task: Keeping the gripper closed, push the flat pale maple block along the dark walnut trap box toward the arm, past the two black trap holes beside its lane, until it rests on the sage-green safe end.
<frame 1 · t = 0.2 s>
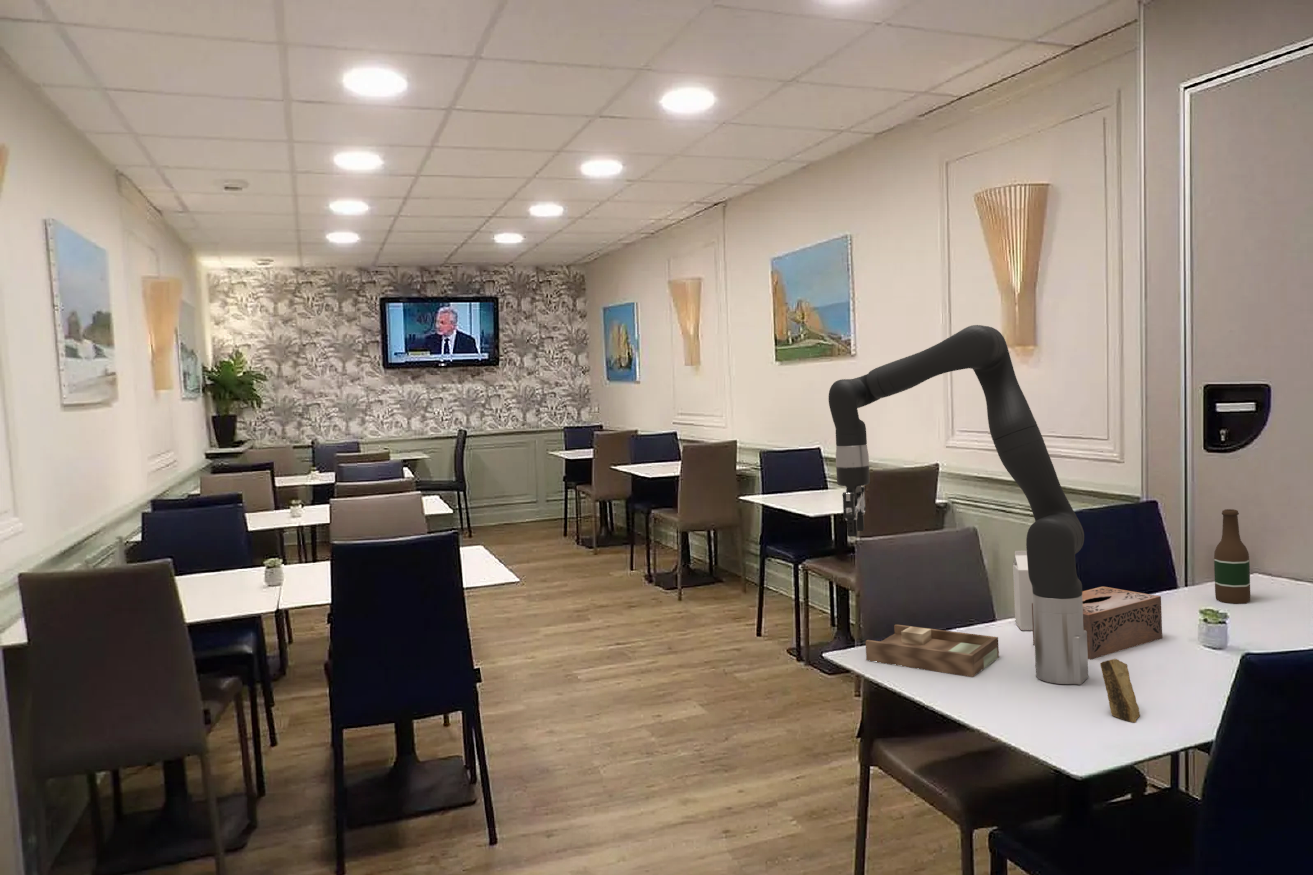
hand: (856, 533, 207), 27 cm above the table, tool pointing down, fingers open, 8 cm apart
rock: (1127, 712, 161), on the table
milk carton: (1033, 628, 218), on the table
tissue box cover: (1097, 643, 203), on the table
beer bottle: (1232, 601, 232), on the table
trap box: (932, 658, 197), on the table
maple block: (916, 641, 203), point 2 cm above the table, touching trap box
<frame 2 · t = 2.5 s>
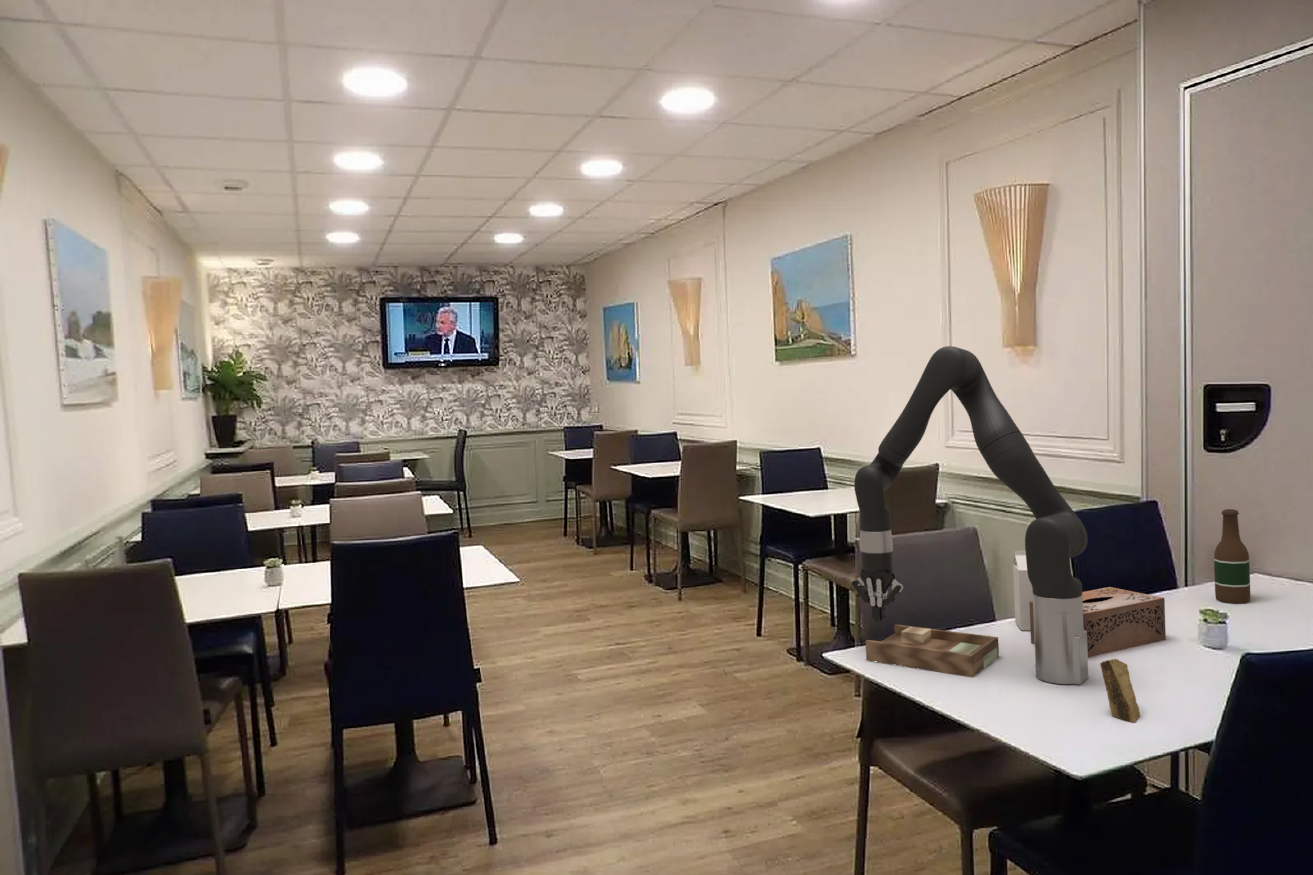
hand: (879, 621, 209), 6 cm above the table, tool pointing down, fingers closed
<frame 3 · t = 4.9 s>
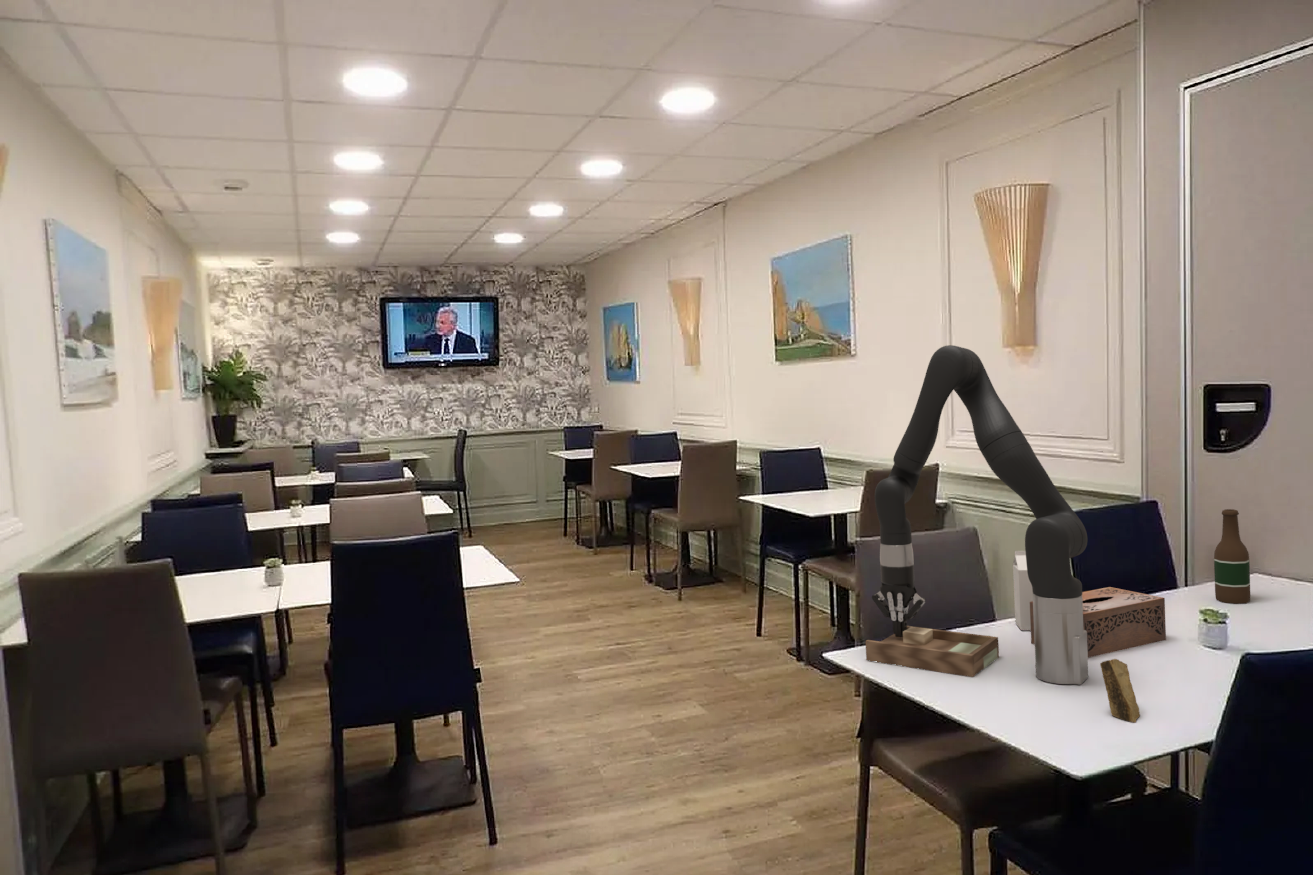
hand: (900, 636, 206), 3 cm above the table, tool pointing down, fingers closed
maple block: (918, 641, 203), point 3 cm above the table, touching gripper
everything else where it was.
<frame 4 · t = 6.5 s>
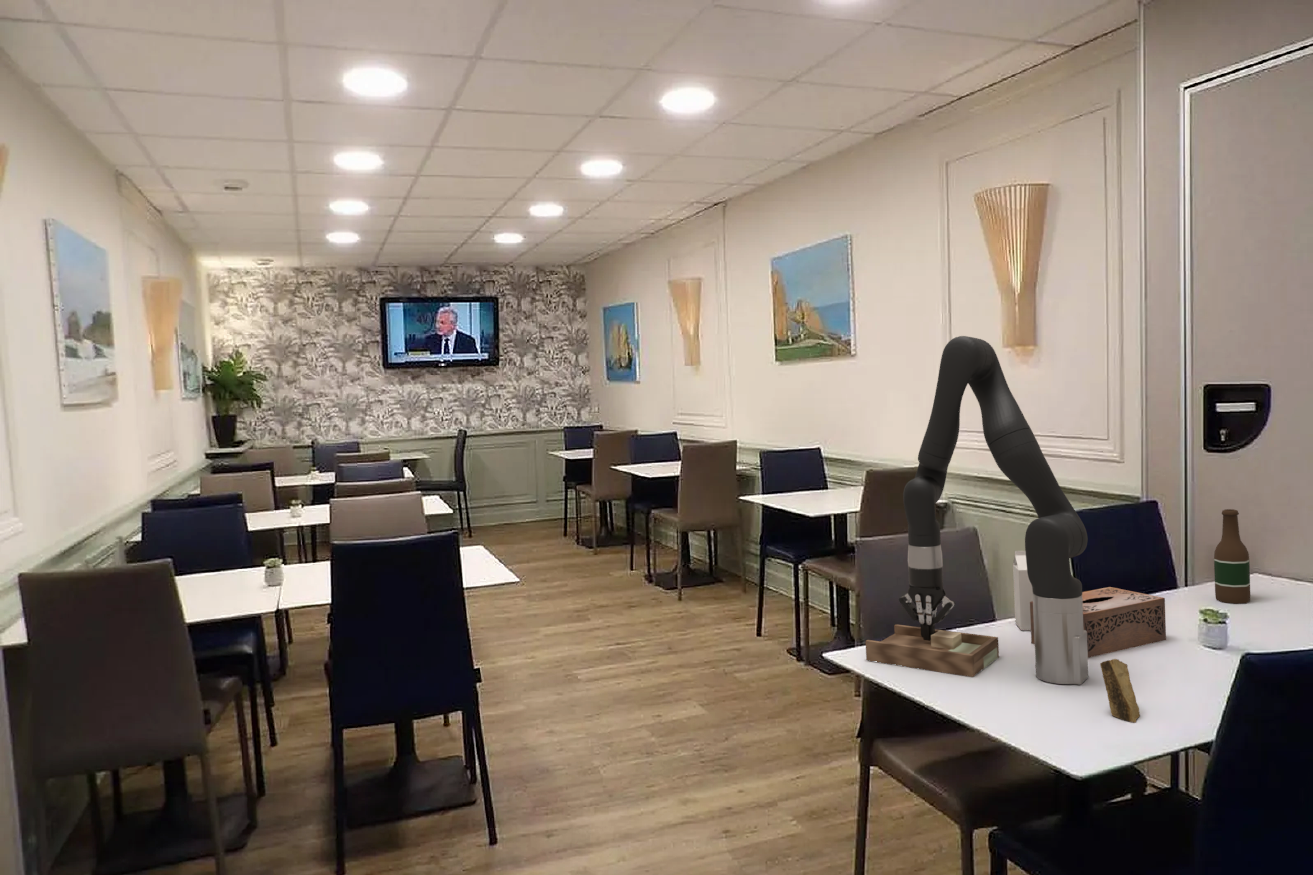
hand: (928, 639, 201), 3 cm above the table, tool pointing down, fingers closed
maple block: (946, 645, 199), point 3 cm above the table, touching gripper
everything else where it was.
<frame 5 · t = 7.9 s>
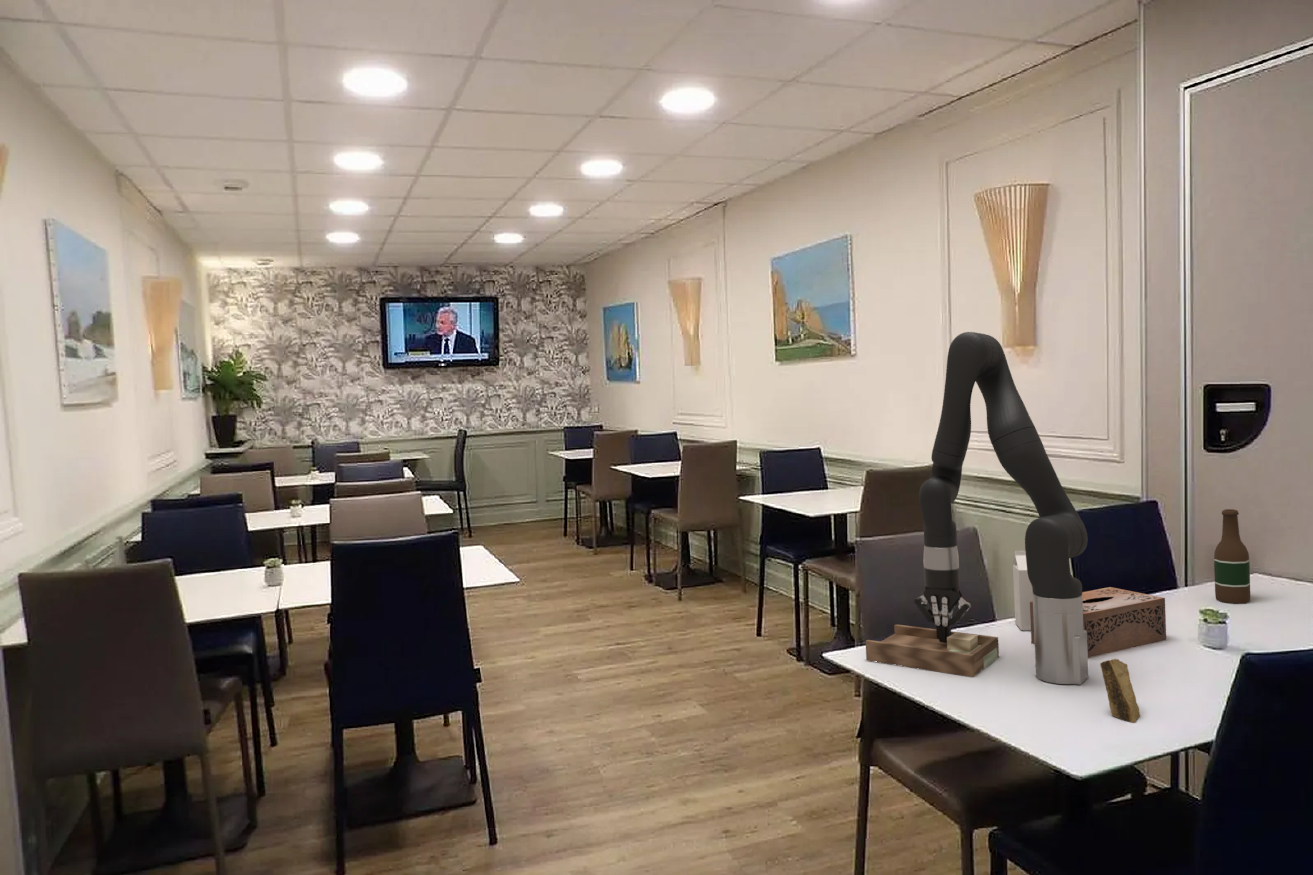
hand: (944, 641, 199), 3 cm above the table, tool pointing down, fingers closed
maple block: (962, 647, 196), point 2 cm above the table, touching gripper, trap box
everything else where it was.
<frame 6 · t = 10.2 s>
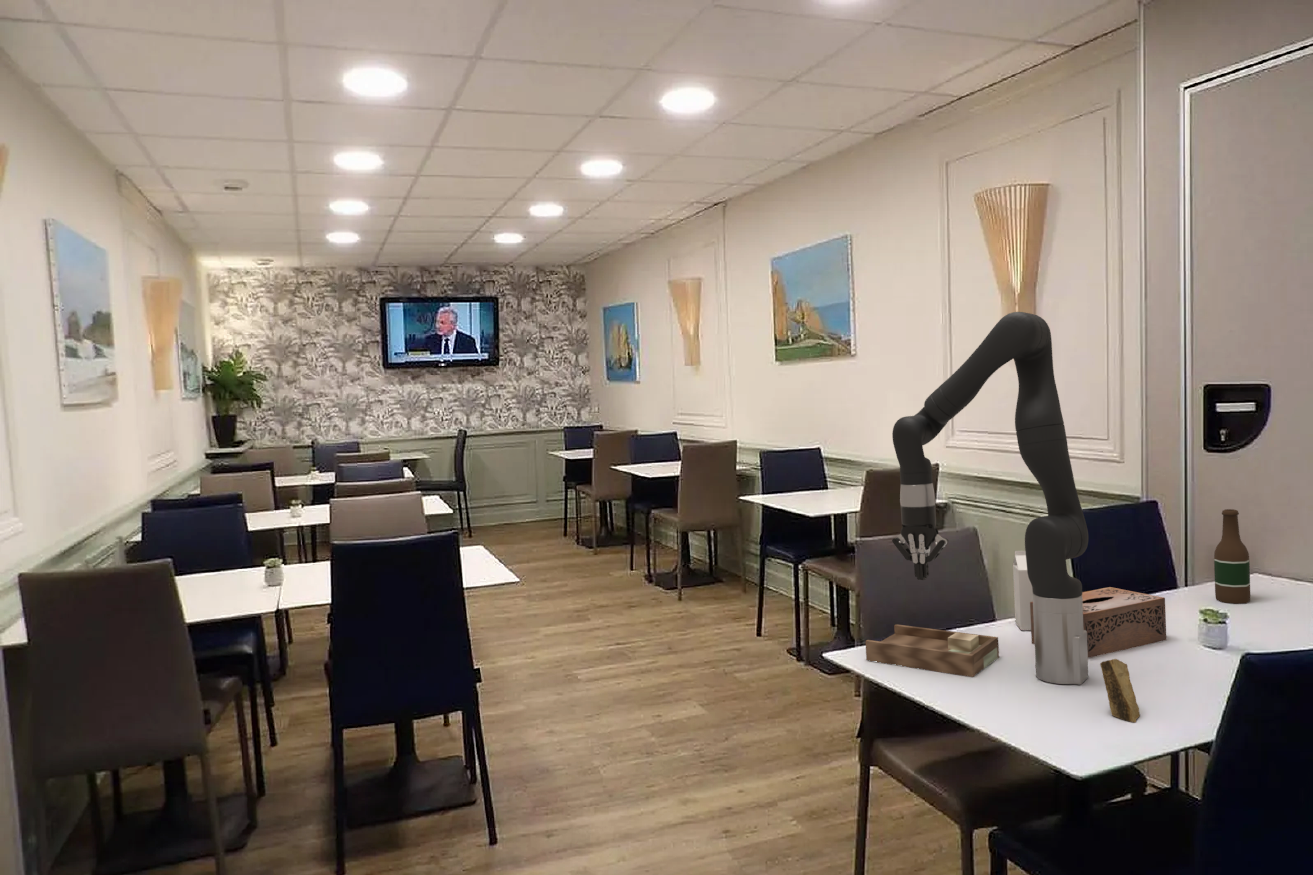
hand: (922, 579, 201), 17 cm above the table, tool pointing down, fingers closed
maple block: (963, 647, 196), point 2 cm above the table, touching trap box
everything else where it was.
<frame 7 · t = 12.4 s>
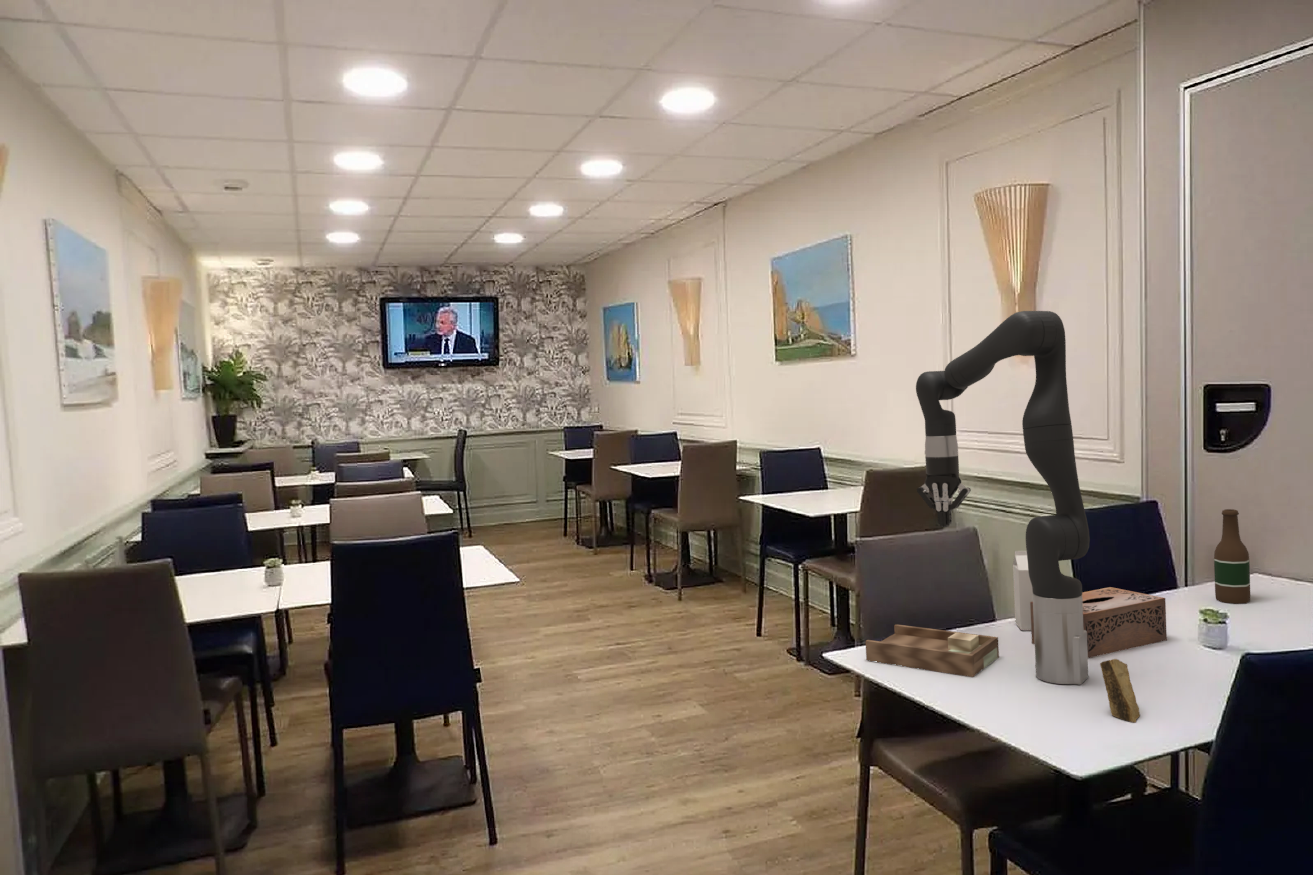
hand: (944, 526, 212), 27 cm above the table, tool pointing down, fingers closed
nothing on the table moved.
at the end: maple block 1.4 cm from the target spot on the trap box, point 2.5 cm above the trap box's base; maple block tilted 0° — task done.
